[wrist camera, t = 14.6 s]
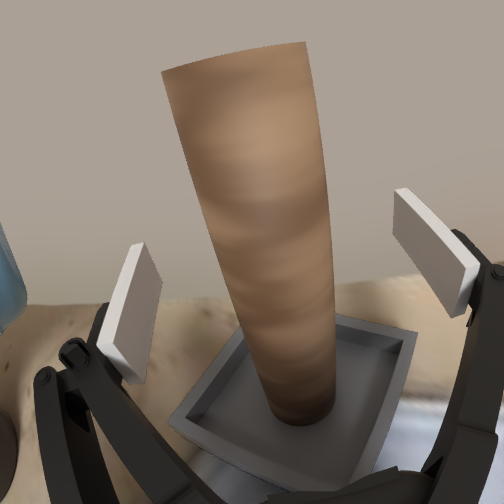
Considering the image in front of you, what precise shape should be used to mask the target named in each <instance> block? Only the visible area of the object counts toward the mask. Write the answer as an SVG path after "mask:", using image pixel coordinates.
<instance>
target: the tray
mask: <svg viewBox="0 0 504 504" xmlns="http://www.w3.org/2000/svg"><path fill="white" fill-rule="evenodd" d="M335 325H336V398H335V403H334V406H333V408H332V410H331V411H330V413H329V414H328V415H327V416H326V417H325V418H323V419H322V420H321V421H319V422H317V423H315V424H312V425H309V426H301V427H299V426H291V425H288V424H285V423H283V422H281V421H280V420H279V419H277V418H276V417H275V415H274V414H273V413H272V411H271V409H270V406H269V403H268V401H267V398H266V395H265V393H264V390H263V387H262V385H261V382H260V379H259V376H258V374H257V371H256V368H255V365H254V363H253V360H252V357H251V354H250V352H249V349H248V346H247V343H246V340H245V338H244V335H243V332H242V329H241V326H239V328H238V329H237V330H236V332H235V333H234V334H233V336H232V337H231V338H230V340H229V341H228V342H227V344H226V345H225V346H224V348H223V349H222V350H221V352H220V353H219V354H218V356H217V357H216V358H215V360H214V361H213V362H212V364H211V365H210V366H209V368H208V369H207V370H206V371H205V373H204V374H203V375H202V377H201V378H200V379H199V381H198V382H197V383H196V384H195V386H194V387H193V388H192V390H191V391H190V392H189V394H188V395H187V396H186V397H185V399H184V400H183V401H182V403H181V404H180V405H179V406H178V408H177V409H176V410H175V411H174V413H173V414H172V415H171V417H170V418H169V419H168V420H167V423H168V424H169V425H170V426H171V427H172V428H173V429H174V430H175V431H176V432H177V433H178V434H179V435H180V436H181V437H183V438H185V439H186V440H188V441H190V442H191V443H193V444H195V445H196V446H198V447H200V448H202V449H203V450H205V451H207V452H209V453H210V454H212V455H214V456H216V457H218V458H219V459H221V460H223V461H225V462H227V463H229V464H231V465H233V466H235V467H237V468H239V469H241V470H243V471H245V472H247V473H249V474H251V475H253V476H255V477H257V478H259V479H262V480H264V481H266V482H268V483H271V484H273V485H275V486H277V487H280V488H282V489H284V490H287V491H289V492H295V491H337V490H339V489H341V488H343V487H345V486H347V485H349V484H351V483H353V482H355V481H357V480H359V479H361V478H363V477H364V476H366V475H369V474H371V472H372V470H373V467H374V465H375V463H376V460H377V458H378V456H379V453H380V451H381V448H382V446H383V443H384V441H385V438H386V436H387V433H388V430H389V428H390V425H391V422H392V420H393V417H394V414H395V411H396V408H397V405H398V402H399V399H400V396H401V393H402V390H403V387H404V383H405V380H406V377H407V373H408V370H409V366H410V362H411V359H412V355H413V351H414V347H415V343H416V339H417V335H418V332H413V331H409V330H404V329H400V328H395V327H390V326H386V325H382V324H377V323H373V322H368V321H364V320H360V319H356V318H351V317H347V316H343V315H339V314H335Z"/></svg>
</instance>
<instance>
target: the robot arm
mask: <svg viewBox="0 0 504 504" xmlns="http://www.w3.org/2000/svg"><path fill="white" fill-rule="evenodd" d="M393 235H394V236H395V238H396V239H397V240H398V241H399V243H400V245H401V246H402V247H403V248H404V250H405V251H406V253H407V254H408V255H409V257H410V258H411V259H412V261H413V262H414V264H415V265H416V267H417V268H418V269H419V271H420V272H421V274H422V275H423V277H424V278H425V279H426V281H427V282H428V284H429V285H430V287H431V288H432V290H433V291H434V293H435V294H436V296H437V297H438V299H439V300H440V302H441V303H442V305H443V306H444V308H445V310H446V311H447V313H448V314H449V316H450V318H454V317H456V316H459V315H462V314H465V311H466V308H467V305H468V304H469V305H470V307H471V308H472V312H471V315H470V317H469V320H468V322H467V325H466V327H468V331H467V336H466V340H465V345H464V350H463V354H462V358H461V362H460V366H459V370H458V374H457V378H456V381H455V385H454V388H453V392H452V395H451V398H450V401H449V405H448V408H447V411H446V414H445V417H444V420H443V422H442V425H441V428H440V431H439V433H438V436H437V439H436V441H435V444H434V446H433V449H432V451H431V453H430V455H429V456H428V458H427V460H426V462H425V463H424V465H423V467H422V469H421V471H420V472H416V471H405V470H401V471H398V467H397V466H395V467H392V468H389V469H386V470H382V471H379V472H376V473H373V474H369V475H366V476H364V477H363V478H361V479H359V480H357V481H355V482H353V483H351V484H349V485H347V486H345V487H343V488H341V489H339V490H337V491H295V492H288V493H282V494H275V495H267V496H268V500H267V501H265V502H262V503H260V504H478V502H479V499H480V497H481V494H482V491H483V489H484V486H485V483H486V480H487V477H488V474H489V471H490V468H491V465H492V462H493V458H494V455H495V452H496V448H497V444H498V435H497V434H496V433H495V428H496V424H497V420H498V415H499V411H500V406H501V401H502V396H503V390H504V266H501V265H497V264H491V263H490V261H489V260H488V259H487V258H486V257H485V256H484V255H483V254H482V253H481V251H480V250H479V249H478V248H476V247H475V245H474V244H473V243H472V242H470V240H469V239H468V238H467V237H466V236H465V234H463V233H461V232H460V231H458V230H456V229H453V230H449V229H448V228H447V227H446V226H445V225H444V223H443V222H442V221H441V220H440V219H439V218H438V217H437V216H436V215H435V214H434V213H433V212H432V211H431V210H430V209H429V208H427V207H426V206H425V205H424V204H423V203H422V202H421V201H420V200H419V199H418V198H417V197H416V196H415V195H414V194H413V193H412V192H411V191H409V190H408V189H407V188H402V189H397V190H394V216H393ZM162 283H163V282H162V280H161V278H160V276H159V274H158V271H157V269H156V267H155V265H154V263H153V261H152V258H151V256H150V254H149V252H148V249H147V247H146V245H145V243H144V242H142V243H138V244H134V245H131V247H130V249H129V252H128V255H127V257H126V260H125V263H124V265H123V268H122V270H121V273H120V276H119V278H118V281H117V284H116V287H115V289H114V292H113V295H112V298H111V301H110V302H108V303H103V305H102V306H101V307H100V309H99V310H98V311H97V314H96V317H95V319H94V321H95V322H93V325H92V329H91V331H90V334H89V337H88V340H87V343H85V342H84V340H82V339H81V338H78V337H76V338H72V339H70V340H68V341H67V342H66V343H65V344H63V346H62V347H61V349H60V351H59V355H58V356H59V360H60V361H61V362H62V363H63V364H64V365H65V367H66V368H67V369H64V370H62V371H59V372H57V371H56V370H55V369H54V368H53V367H51V366H47V367H44V368H42V369H41V370H39V372H38V373H37V374H36V376H35V378H34V382H33V388H34V403H35V414H36V424H37V432H38V440H39V447H40V453H41V459H42V465H43V470H44V475H45V480H46V485H47V489H48V493H49V497H50V501H51V504H120V503H119V501H118V498H117V495H116V493H115V490H114V487H113V485H112V482H111V479H110V476H109V473H108V471H107V468H106V465H105V462H104V458H103V455H102V452H101V449H100V445H99V442H98V439H97V435H96V431H95V428H94V424H93V420H92V416H91V412H92V414H93V416H94V417H95V419H96V421H97V423H98V424H99V426H100V428H101V429H102V431H103V433H104V434H105V436H106V437H107V439H108V441H109V442H110V444H111V445H112V447H113V448H114V450H115V451H116V453H117V454H118V456H119V457H120V459H121V460H122V462H123V463H124V465H125V466H126V468H127V469H128V470H129V472H130V473H131V475H132V476H133V477H134V479H135V480H136V481H137V483H138V484H139V485H140V487H141V488H142V489H143V491H144V492H145V493H146V495H147V496H148V497H149V498H150V500H151V501H152V502H153V503H154V504H227V503H226V502H224V501H223V500H222V499H221V498H219V497H218V496H217V495H216V494H215V493H214V492H213V491H212V490H211V489H210V488H209V487H208V486H207V485H206V484H205V483H204V482H203V481H202V480H201V479H200V478H199V477H198V476H197V475H196V474H195V473H194V472H193V471H192V470H191V469H190V468H189V466H188V465H187V464H186V463H185V462H184V461H183V460H182V459H181V458H180V457H179V456H178V454H177V453H176V452H175V451H174V450H173V449H172V448H171V447H170V445H169V444H168V443H167V442H166V441H165V440H164V438H163V437H162V436H161V435H160V434H159V433H158V431H157V430H156V429H155V428H154V426H153V425H152V424H151V423H150V422H149V420H148V419H147V418H146V416H145V415H144V414H143V413H142V411H141V410H140V409H139V407H138V406H137V405H136V404H135V402H134V401H133V400H132V398H131V397H130V396H129V394H128V393H127V391H126V390H125V389H124V388H123V386H122V385H121V384H122V378H124V379H125V381H126V382H127V383H128V384H129V385H132V384H145V378H146V371H147V365H148V358H149V352H150V346H151V340H152V335H153V329H154V324H155V318H156V313H157V308H158V302H159V297H160V292H161V288H162ZM26 304H27V291H26V287H25V285H24V282H23V279H22V276H21V274H20V271H19V269H18V266H17V264H16V261H15V259H14V256H13V254H12V251H11V249H10V246H9V244H8V242H7V239H6V236H5V234H4V231H3V228H2V226H1V223H0V336H1V335H2V333H3V331H4V330H5V329H6V328H7V327H8V326H9V325H10V324H11V323H13V322H14V321H15V320H16V319H17V318H18V317H19V316H21V315H22V313H23V312H24V309H25V307H26ZM90 410H91V412H90ZM16 454H17V444H16V435H15V430H14V427H13V424H12V421H11V419H10V417H9V416H8V414H7V413H6V412H5V411H4V410H3V409H2V408H1V407H0V502H1V500H2V499H3V497H4V496H5V494H6V492H7V490H8V488H9V486H10V483H11V481H12V477H13V474H14V469H15V464H16Z"/></svg>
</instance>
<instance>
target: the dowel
mask: <svg viewBox="0 0 504 504" xmlns="http://www.w3.org/2000/svg"><path fill="white" fill-rule="evenodd" d="M161 74H162V78H163V82H164V85H165V89H166V92H167V96H168V99H169V103H170V106H171V110H172V113H173V117H174V120H175V124H176V127H177V131H178V134H179V137H180V141H181V144H182V147H183V151H184V154H185V158H186V161H187V164H188V167H189V171H190V174H191V177H192V180H193V184H194V187H195V190H196V193H197V197H198V200H199V203H200V206H201V209H202V212H203V215H204V219H205V222H206V225H207V228H208V231H209V234H210V237H211V240H212V243H213V246H214V250H215V253H216V255H217V258H218V262H219V265H220V268H221V271H222V274H223V276H224V280H225V283H226V286H227V288H228V291H229V294H230V297H231V300H232V303H233V306H234V309H235V312H236V315H237V318H238V320H239V323H240V326H241V329H242V332H243V335H244V338H245V340H246V343H247V346H248V349H249V352H250V354H251V357H252V360H253V363H254V365H255V368H256V371H257V374H258V376H259V379H260V382H261V385H262V387H263V390H264V393H265V395H266V398H267V401H268V403H269V406H270V409H271V411H272V413H273V414H274V415H275V417H276V418H277V419H279V420H280V421H281V422H283V423H285V424H288V425H291V426H299V427H301V426H309V425H312V424H315V423H317V422H319V421H321V420H322V419H323V418H325V417H326V416H327V415H328V414H329V413H330V411H331V410H332V408H333V406H334V403H335V398H336V325H335V294H334V274H333V256H332V242H331V228H330V216H329V205H328V194H327V184H326V175H325V166H324V157H323V149H322V141H321V134H320V126H319V119H318V113H317V106H316V99H315V93H314V87H313V81H312V75H311V69H310V64H309V58H308V53H307V48H306V42H297V43H289V44H280V45H273V46H267V47H261V48H255V49H249V50H245V51H239V52H234V53H230V54H225V55H221V56H216V57H212V58H208V59H204V60H200V61H196V62H192V63H189V64H185V65H182V66H178V67H175V68H172V69H169V70H165V71H162V72H161Z"/></svg>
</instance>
